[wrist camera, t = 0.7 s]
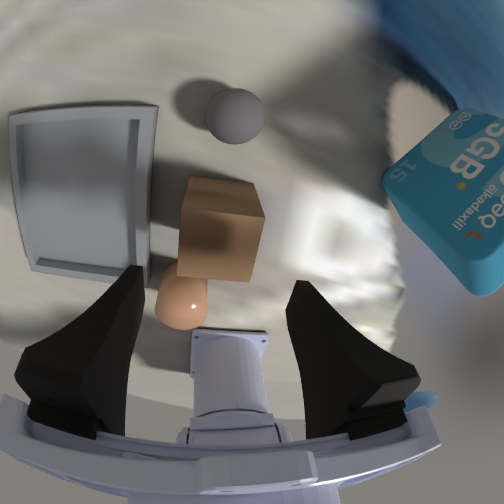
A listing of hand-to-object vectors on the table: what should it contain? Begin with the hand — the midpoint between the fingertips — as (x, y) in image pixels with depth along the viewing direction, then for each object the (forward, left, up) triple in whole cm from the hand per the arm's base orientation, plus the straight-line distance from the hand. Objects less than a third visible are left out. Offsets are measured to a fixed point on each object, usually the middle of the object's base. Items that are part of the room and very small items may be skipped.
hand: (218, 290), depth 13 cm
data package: (+8, -17, -9) cm, 21 cm away
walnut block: (0, 0, -9) cm, 9 cm away
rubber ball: (+7, 0, -9) cm, 11 cm away
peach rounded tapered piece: (-7, +2, -9) cm, 12 cm away
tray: (0, +11, -9) cm, 14 cm away
